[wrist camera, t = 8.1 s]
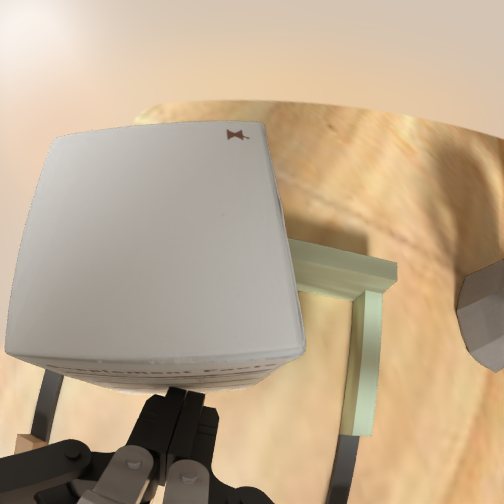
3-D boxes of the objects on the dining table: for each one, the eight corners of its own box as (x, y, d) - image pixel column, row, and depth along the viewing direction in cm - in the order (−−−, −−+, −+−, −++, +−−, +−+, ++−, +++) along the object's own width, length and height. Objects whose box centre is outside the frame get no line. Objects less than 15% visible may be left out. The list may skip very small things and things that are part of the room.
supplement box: (126, 281, 20) (52, 129, 9) (240, 276, 21) (271, 115, 10) (125, 396, 16) (-6, 354, 5) (252, 392, 17) (318, 353, 6)
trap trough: (99, 230, 21) (83, 196, 18) (369, 288, 21) (396, 262, 18) (23, 519, 11) (-9, 531, 7) (318, 591, 11) (338, 617, 7)
